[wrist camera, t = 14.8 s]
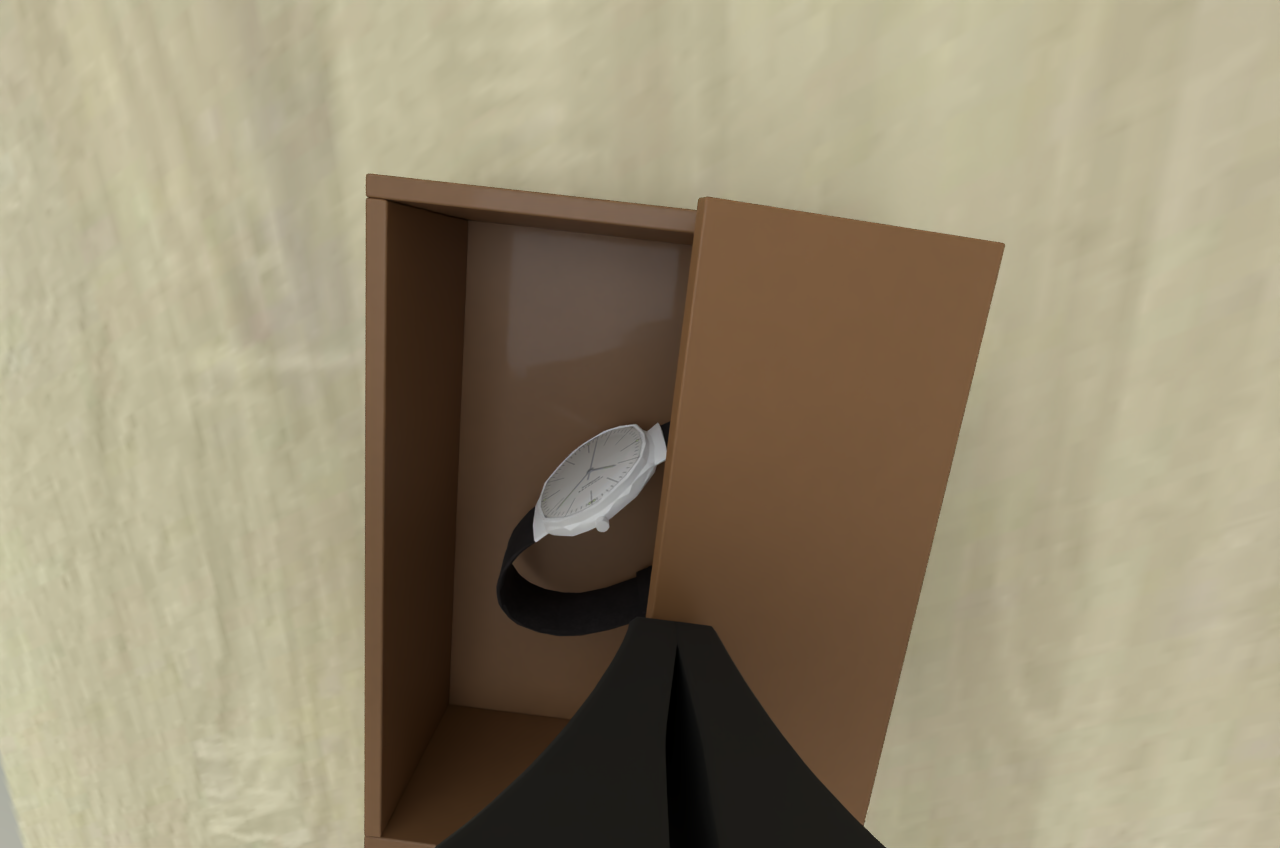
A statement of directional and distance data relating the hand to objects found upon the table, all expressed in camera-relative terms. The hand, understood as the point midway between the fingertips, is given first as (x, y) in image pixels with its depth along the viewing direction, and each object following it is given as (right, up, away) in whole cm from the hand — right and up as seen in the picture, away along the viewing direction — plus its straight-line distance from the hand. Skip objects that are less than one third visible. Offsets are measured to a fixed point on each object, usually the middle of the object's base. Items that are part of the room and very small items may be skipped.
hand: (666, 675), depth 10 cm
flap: (+2, 0, +1) cm, 2 cm away
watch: (0, +2, +7) cm, 7 cm away
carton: (0, +2, +7) cm, 8 cm away
